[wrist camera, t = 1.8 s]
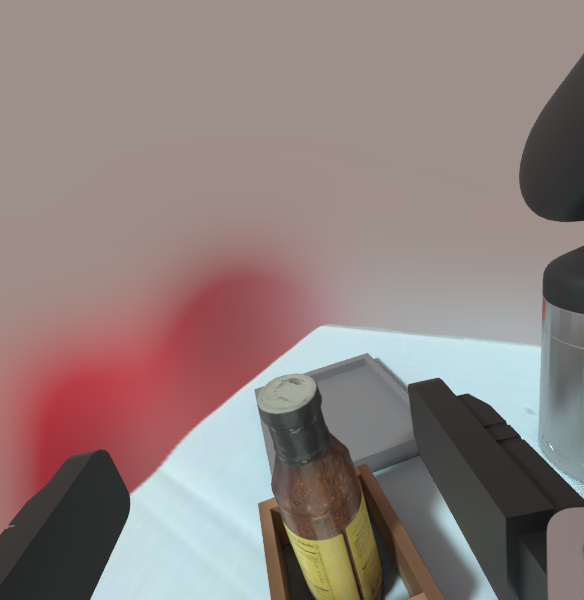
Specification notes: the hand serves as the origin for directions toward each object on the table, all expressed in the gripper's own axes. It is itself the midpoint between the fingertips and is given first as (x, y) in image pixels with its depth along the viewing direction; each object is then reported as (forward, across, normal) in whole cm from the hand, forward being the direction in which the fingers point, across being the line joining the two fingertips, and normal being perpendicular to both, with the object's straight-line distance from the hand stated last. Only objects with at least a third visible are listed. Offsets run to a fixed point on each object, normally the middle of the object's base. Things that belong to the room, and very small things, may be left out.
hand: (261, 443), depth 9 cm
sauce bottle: (+11, 0, +26) cm, 28 cm away
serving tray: (+31, -3, +25) cm, 40 cm away
